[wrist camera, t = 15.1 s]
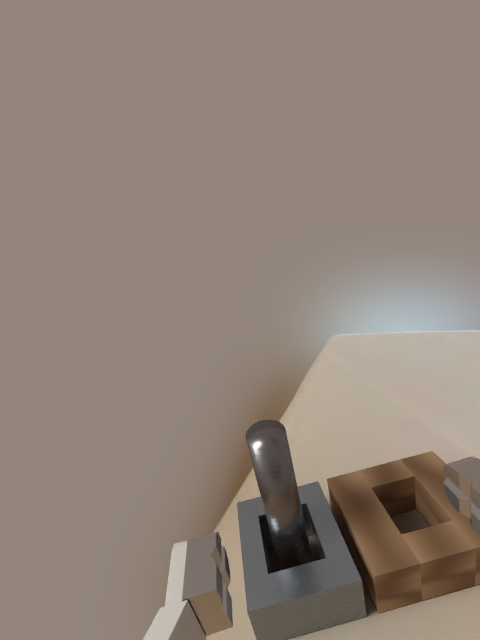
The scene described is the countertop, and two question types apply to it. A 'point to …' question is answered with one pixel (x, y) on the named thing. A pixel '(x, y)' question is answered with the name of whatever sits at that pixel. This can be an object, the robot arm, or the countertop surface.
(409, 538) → the wooden square hole block
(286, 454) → the steel axle
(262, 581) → the socket block
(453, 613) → the countertop surface
